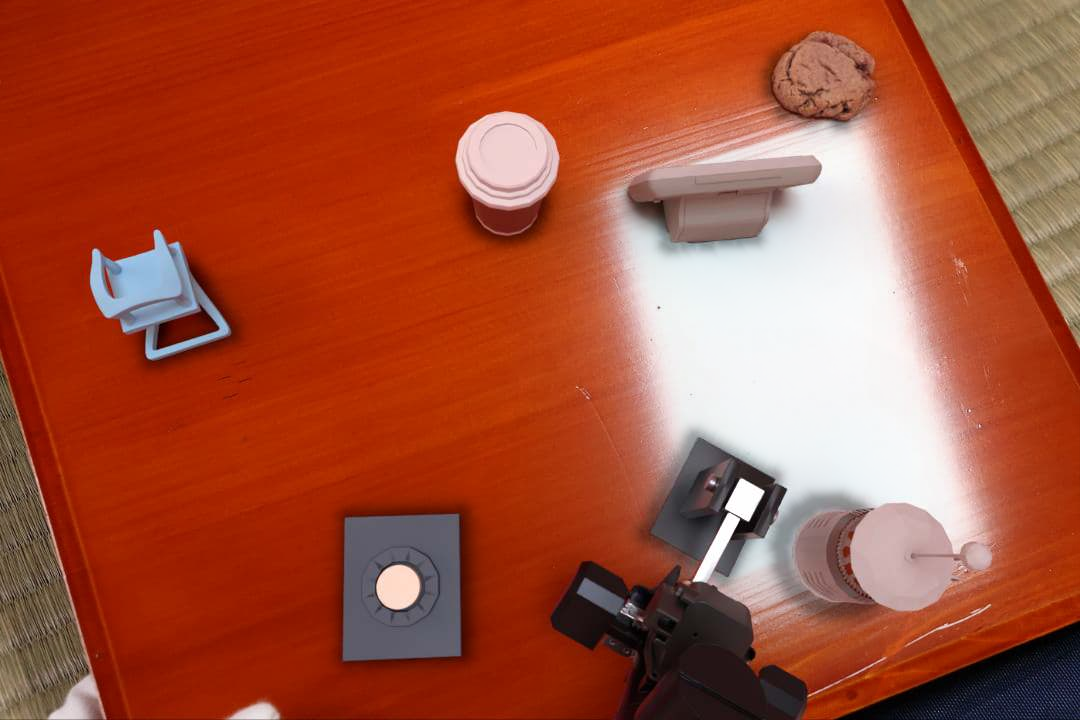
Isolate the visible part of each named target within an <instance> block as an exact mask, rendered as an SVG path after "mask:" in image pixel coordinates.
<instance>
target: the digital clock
mask: <svg viewBox="0 0 1080 720" xmlns="http://www.w3.org/2000/svg"><path fill="white" fill-rule="evenodd" d="M822 165H823V164H822V163H821V161H819V159H817V157H815V155H812V154H810V155H808V154H807V155H792V156H784V157H783V156H781V157H770V158H758V159H747V160H735V161H734V160H733V161H723V162H713V163H712V162H711V163H702V164H691V165H679V166H668V167H667V166H666V167H659V168H654V169H651V170H648V171H645V172H643V173H641V174H638V175H636V176H634V177H633V178H632V180H631V181H630V183H628V184H629V185H628V186H627V191H628V194H629V196H630V197H631V199H632V200H633V201H635V202H636V203H644V202H653V204H654V203H655V204H657V203H661V201H662V204H663V210H664V217H665V223H666V229H667V233H668V234H669V239H670V243H672V244H675V243H676V244H677V243H684V242H685V243H688V244H690V243H700V242H712V241H721V240H732V239H733V240H734V239H743V238H753V237H754V238H755V237H758V235H759V234H760V233H761V231H762V230H763V229H764V228H765V227H766V226H767V225H768V223H769V220H770V217H771V214H770V213H771V204H772V199H773V194H774V191H777V190H778V191H779V190H784V189H788V188H794V187H800V186H801V187H802V186H806V185H810V184H814V183H815V182H816V181H817V180H818V179H819V177H820V175H821V173H822V170H823V166H822Z"/></svg>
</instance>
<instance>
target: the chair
mask: <svg viewBox="0 0 1080 720" xmlns="http://www.w3.org/2000/svg"><path fill="white" fill-rule="evenodd" d="M153 239H154V249H152V250H148V251H146V252H142V253H139V254H136V255H132V256H128V257H126V258H122V259H118V260H115V261H113V260H112V259H110V258H108V257H106V256H104V255H103V253H102V252H101V251H100V250H99V249H98V248H94V249H92V252H91V253H92V255H91V257H92V260H91V261H92V263H91V267H90V274H89V275H90V277H89V284H90V288H91V292H92V295H93V298H94V300H95V302H96V304H97V306H98V308H99V310H100V311H101V313H102V315H103V316H104V317H105V318H107V319H115V320H119V321H120V326H121V329H122V333H124V334H125V335H127V336H128V335H131V334H134V333H137V332H138V333H139V332H140V331H143V330H146V331H145V332H146V333H145V356H146V358H147V359H148V360H150V361H158V360H162V359H165V358H168V357H171V356H174V355H177V354H180V353H183V352H185V351H188V350H192V349H194V348H198V347H201V346H204V345H207V344H210V343H213V342H216V341H219V340H222V339H225V338H228V337H230V336H231V335H232V330H231V327H230V325H229V323H228V322H227V320H226V319H225V318H224V316H223V315H222V313H221V312H220V310H218V308H217V306H215V304H214V303H213V301H212V300H211V299H210V298H209V297H208V295H207V294H206V292H205V291H204V290H203V289H202V287H201V286H200V284H199V283H198V282H197V280H196V279H195V277H194V275H193V274H192V271H190V266H189V263H188V260H187V257H186V254H185V252H184V249H183V245H182V243H180V242H179V241H176V242H172V243H170V244H168V241H167V239H166V237H165V236H164V234H163V233H162V232H161V231H160V230H159V229H155V230H154V231H153ZM105 269H106V272H105ZM105 273H107V277H108V280H109V284H110V287H111V290H112V294H113V296H112V294H111V292H110V290H109V288H108V284H107V280H106V275H105ZM201 307H202V308H203V310H205V312H206V313H207V315H209V316H210V318H211V319H212V320H213V321H214V322H215V324H216V325H217V326H218V328H219V329H218V330H217V331H214V332H211V333H207V334H204V335H201V336H197V337H195V338H191V339H188V340H185V341H182V342H178V343H175V344H171V345H169V346H165V347H163V348H159V349H157V347H158V345H157V344H158V337H159V329H160V324H163V323H166V322H170V321H172V320H176V319H180V318H183V317H187V316H190V315H194V314H197V313H200V312H202V310H201Z"/></svg>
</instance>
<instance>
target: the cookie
mask: <svg viewBox="0 0 1080 720" xmlns="http://www.w3.org/2000/svg"><path fill="white" fill-rule="evenodd" d="M875 67H876V60H875V59H874V58H873V56H872V55H871V54H870V53H868V51H866V50H865V49H863V48H862V47H861V46H859V45H857V44H856V42H854V41H852V40H851V39H849V38H847V37H846V36H843V35H841V34H839V33H838V34H837V33H833V32H827V31H824V30H823V31H819V30H816V31H812V32H811V33H810V34H809V35H808V36H807V37H805V38H804V39H802V40H800V42H799V43H797V44H793V46H791V47H790V49H789V51H787V52H784V53H783V54H782V55H781V57H780V59H779V60H778V62H777V64H776V66H775V68H774V69H773V72H772V75H771V78H770V79H771V80H770V81H771V82H772V92H773V94H774V97H776V99H777V101H778V102H779V103H780V104H781V105H782V107H783V108H784V109H786V110H788V111H790V112H794V113H797V114H798V113H799V114H801V116H802V117H806V118H809V117H811V116H812V117H813V118H816V117H817V118H819V117H823V118H824V117H830V118H832V117H834V118H835V119H837V120H840V121H848V120H851V119H852V118H853V117H854V116H856V115H858V114H859V113H860V112H861V111H862V110H863V109H864V108H865V107H866V106H867V105H868V104H869V102H870V100H871V97H872V94H873V91H874V89H875V87H876V82H875V80H873V79H871V78H870V76H871V75H873V73H874V71H875Z"/></svg>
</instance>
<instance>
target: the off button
mask: <svg viewBox="0 0 1080 720" xmlns="http://www.w3.org/2000/svg"><path fill="white" fill-rule="evenodd" d="M376 589H377V595H378V597H379V599H380V601H381V602H382V603H383V604H384V605H385V606H387V607H388V608H391V609H395V610H399V609H404V608H407V607H409V606H410V605H412V604H413V603H414V602H415V601H416V600H417V599H418V597H419V595H420V593H421V589H422V583H421V579H420V576H419V574H418V573H417V572H416V571H415V570H414V569H413V568H412V567H410V566H407V565H394V566H391V567H389V568H387V569H386V570H384V571H383V572H382V574H381V575H380V577H379V579H378V581H377V587H376Z"/></svg>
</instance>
